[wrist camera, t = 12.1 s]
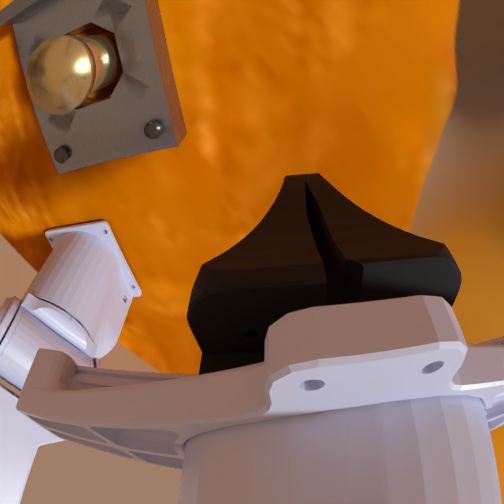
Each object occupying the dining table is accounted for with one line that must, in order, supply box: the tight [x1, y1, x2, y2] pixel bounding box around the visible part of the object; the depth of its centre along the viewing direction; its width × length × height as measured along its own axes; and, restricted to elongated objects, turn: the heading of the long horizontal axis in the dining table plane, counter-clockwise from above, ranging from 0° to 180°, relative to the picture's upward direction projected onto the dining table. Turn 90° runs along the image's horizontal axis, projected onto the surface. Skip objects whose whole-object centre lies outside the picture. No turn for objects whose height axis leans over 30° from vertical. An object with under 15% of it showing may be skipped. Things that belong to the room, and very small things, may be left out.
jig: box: [0, 0, 187, 174], centre depth 15 cm, size 14×10×4 cm
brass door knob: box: [26, 33, 124, 114], centre depth 14 cm, size 5×5×6 cm
